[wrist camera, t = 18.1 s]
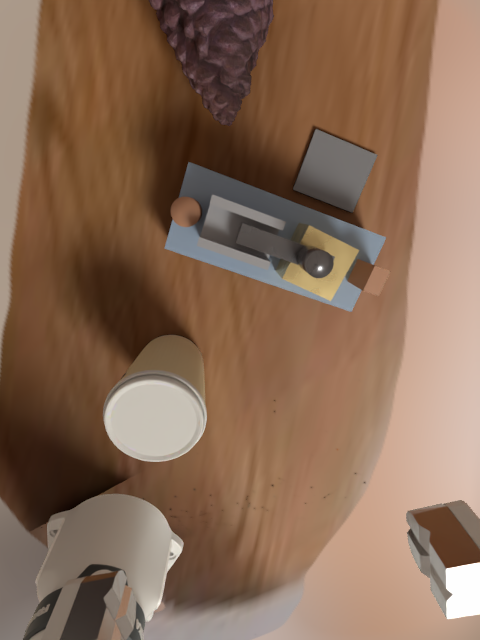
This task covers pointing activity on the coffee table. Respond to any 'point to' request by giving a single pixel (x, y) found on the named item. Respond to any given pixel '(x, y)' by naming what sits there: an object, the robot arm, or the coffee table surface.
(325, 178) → the mat
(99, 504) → the robot arm
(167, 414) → the coffee cup
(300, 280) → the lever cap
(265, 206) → the plane body
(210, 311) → the coffee table surface
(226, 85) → the pine cone
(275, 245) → the ball-knob lever
